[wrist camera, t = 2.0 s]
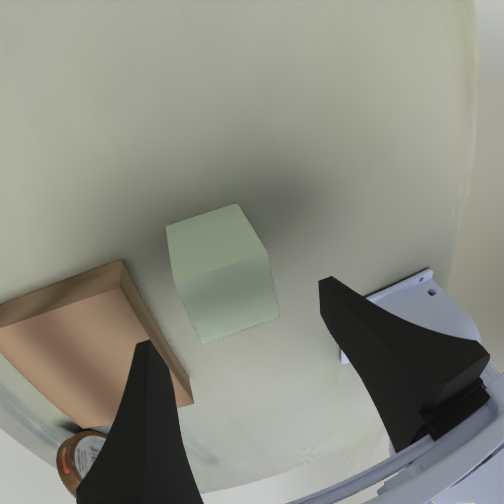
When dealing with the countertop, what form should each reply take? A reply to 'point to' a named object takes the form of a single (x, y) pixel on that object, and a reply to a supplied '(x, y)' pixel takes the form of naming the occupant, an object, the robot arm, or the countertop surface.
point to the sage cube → (221, 272)
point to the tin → (78, 457)
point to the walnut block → (84, 342)
